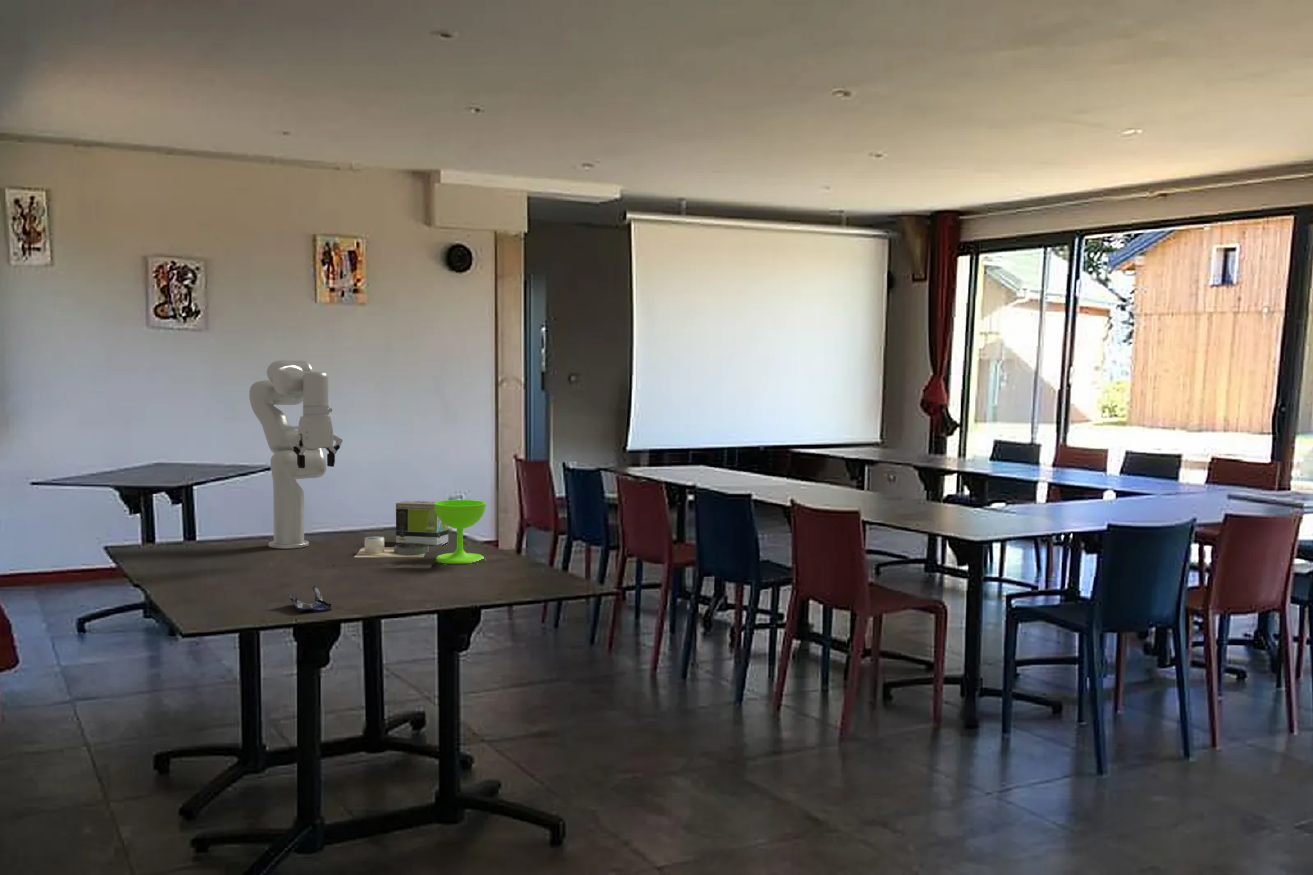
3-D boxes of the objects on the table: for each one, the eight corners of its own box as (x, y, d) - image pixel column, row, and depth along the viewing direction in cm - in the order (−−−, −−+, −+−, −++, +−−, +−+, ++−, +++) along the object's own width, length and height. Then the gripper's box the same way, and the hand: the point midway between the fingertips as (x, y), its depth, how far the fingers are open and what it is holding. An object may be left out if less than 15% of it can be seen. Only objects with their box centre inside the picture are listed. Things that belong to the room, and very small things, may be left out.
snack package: (335, 604, 277) (287, 604, 275) (336, 581, 275) (287, 580, 273) (329, 623, 265) (279, 623, 263) (330, 598, 264) (279, 598, 262)
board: (362, 551, 353) (362, 547, 353) (428, 551, 355) (428, 547, 355) (353, 561, 335) (353, 557, 335) (423, 560, 337) (423, 557, 337)
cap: (366, 550, 347) (366, 536, 347) (385, 550, 348) (385, 536, 347) (363, 553, 341) (363, 539, 341) (383, 553, 342) (383, 539, 341)
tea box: (449, 544, 370) (449, 500, 369) (436, 548, 360) (436, 504, 359) (408, 541, 373) (408, 498, 372) (394, 546, 364) (395, 502, 363)
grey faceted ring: (396, 549, 350) (396, 543, 350) (429, 549, 352) (429, 543, 351) (392, 554, 340) (392, 548, 340) (427, 554, 341) (427, 548, 341)
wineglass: (473, 554, 351) (473, 498, 350) (493, 562, 337) (494, 504, 336) (425, 558, 342) (426, 501, 341) (444, 566, 329) (445, 507, 328)
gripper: (335, 411, 345) (335, 465, 346) (283, 412, 333) (284, 467, 333) (347, 411, 339) (347, 466, 340) (295, 412, 327) (295, 469, 328)
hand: (316, 467), depth 337 cm, fingers open, 9 cm apart
